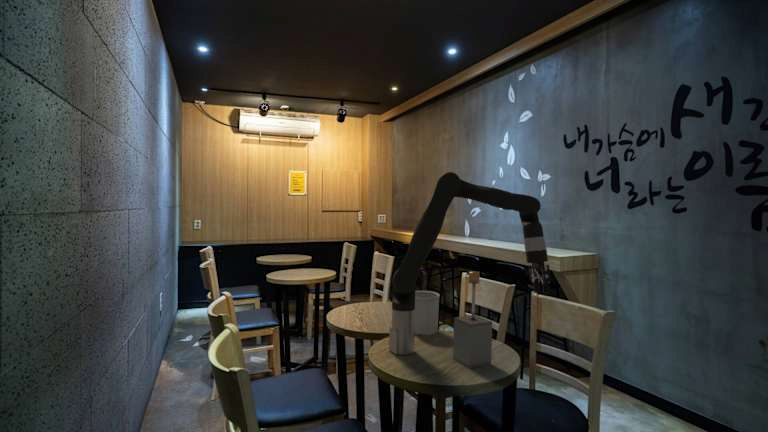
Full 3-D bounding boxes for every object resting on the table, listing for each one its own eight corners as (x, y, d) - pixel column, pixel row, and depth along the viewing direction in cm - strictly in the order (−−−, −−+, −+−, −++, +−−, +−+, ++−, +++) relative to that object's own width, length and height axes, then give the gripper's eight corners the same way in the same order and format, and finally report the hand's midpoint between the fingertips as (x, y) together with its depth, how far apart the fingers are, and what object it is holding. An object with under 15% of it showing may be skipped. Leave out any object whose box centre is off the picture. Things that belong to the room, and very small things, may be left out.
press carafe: (469, 368, 150) (470, 324, 149) (453, 358, 159) (454, 317, 158) (491, 364, 154) (492, 321, 154) (473, 355, 163) (475, 314, 163)
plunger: (470, 337, 151) (472, 274, 151) (458, 331, 158) (459, 271, 157) (487, 335, 154) (488, 273, 154) (474, 329, 161) (475, 270, 161)
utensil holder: (437, 337, 185) (438, 298, 184) (404, 334, 188) (405, 296, 187) (439, 327, 199) (440, 291, 199) (409, 325, 202) (410, 289, 202)
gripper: (519, 251, 162) (525, 293, 160) (533, 249, 148) (539, 295, 146) (538, 250, 162) (544, 291, 160) (553, 247, 148) (560, 293, 146)
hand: (542, 293), depth 153 cm, fingers open, 8 cm apart
